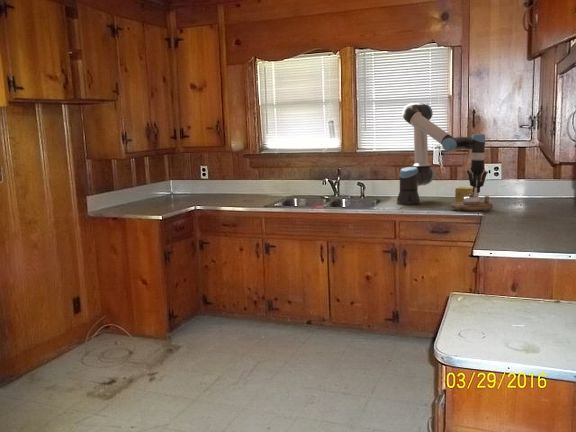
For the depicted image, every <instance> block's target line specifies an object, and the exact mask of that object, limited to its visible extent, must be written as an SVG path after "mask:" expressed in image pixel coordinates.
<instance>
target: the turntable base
mask: <svg viewBox="0 0 576 432" xmlns="http://www.w3.org/2000/svg"><path fill="white" fill-rule="evenodd" d="M460 210H461V209H458V211H460ZM484 211H485V210H461V211H460V212H465V213H479V212H481V213H482V212H484Z"/></svg>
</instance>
